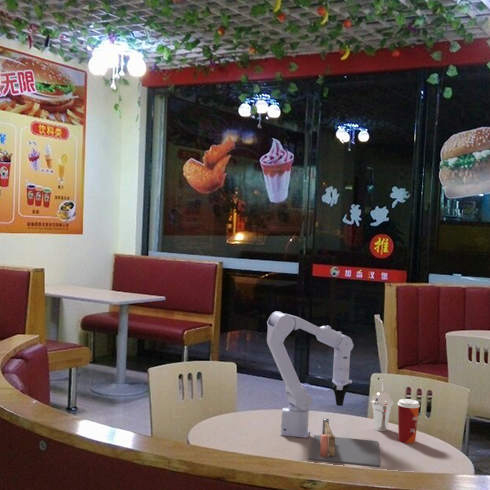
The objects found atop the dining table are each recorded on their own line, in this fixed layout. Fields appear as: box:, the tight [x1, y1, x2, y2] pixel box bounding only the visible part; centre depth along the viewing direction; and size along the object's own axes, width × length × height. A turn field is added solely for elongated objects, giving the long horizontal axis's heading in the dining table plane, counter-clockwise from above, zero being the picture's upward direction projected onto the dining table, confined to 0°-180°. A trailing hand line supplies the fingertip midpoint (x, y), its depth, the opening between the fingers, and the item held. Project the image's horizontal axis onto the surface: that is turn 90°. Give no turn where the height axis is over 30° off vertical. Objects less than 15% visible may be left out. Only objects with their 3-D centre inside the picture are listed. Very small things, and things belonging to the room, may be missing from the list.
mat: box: [308, 434, 380, 468], centre depth 221 cm, size 22×24×1 cm
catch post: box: [320, 434, 329, 457], centre depth 214 cm, size 2×2×7 cm
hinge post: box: [321, 418, 330, 435], centre depth 230 cm, size 2×2×8 cm
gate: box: [324, 422, 336, 456], centre depth 220 cm, size 16×2×6 cm, turn 0°
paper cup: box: [397, 398, 421, 444], centre depth 234 cm, size 8×8×14 cm
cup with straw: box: [369, 377, 394, 432], centre depth 246 cm, size 8×9×20 cm
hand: (339, 405), depth 242 cm, fingers closed
